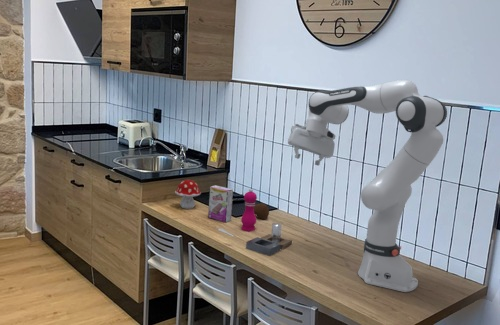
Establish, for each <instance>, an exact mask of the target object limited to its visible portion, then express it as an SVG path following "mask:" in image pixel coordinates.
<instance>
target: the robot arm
mask: <svg viewBox="0 0 500 325" xmlns="http://www.w3.org/2000/svg"><path fill="white" fill-rule="evenodd" d="M348 105H349V106H350V105H351V106H355V107H359V108H361V109H364V110H366V111H368V112H370V113H373V114H382V115H383V114H389V113H392V112H395V115H396V116H395V117H396V118H397V120H398V122H399V123H400V124H401V125H402V126H403V128H404V130H405V131H406V132H407V133H410V137H409V138H408V139H407V141H406V143H405V142H404V145H402V148H400V150H399V151H398V152H397V154H396V155H395V157H394V158H393V159H392V161H390V163H389V164H388V165H386V166H385V167H384V168H383V169H382V170H381V171H380V172H379V173H378V174H377V175H376V176H375V177H374V178H373V179H371V181H370V182H369V183H367V184H366V185H365V186H363V188H362V189H361V191H360V198H361V203H362V204H363V205H364V206H365V207H366V208H367V209H369V210H372V211H373V212H372V214H371V215H370V217H369V219H368V221H367V230H366V238H365V239H364V243H363V256H362V261H361V263H360V267H359V270H358V272H357V275H358V276H359V278H361V279H362V280H363V281H364V283H366V284H368V285H372V286H377V287H380V288H386V289H389V290H394V291H399V292H402V293H403V292H404V293H409V292H413V291H415V289H417V288H418V285H419V280H418V279H417V278H416V277H413V276H414V275H413V268H412V265H411V264H410V263H409V262H408V261H407V260H406V259H405V258H404V257H403V256H402V255H401V250H402V246H399V245H398V244H397V237H398V236H397V235H398V231H399V230H398V229H399V224H400V221H401V218H402V215H403V213H404V210H405V207H406V204H407V203H408V201H409V199H410V197H411V196H412V194H413V193H412V192H413V191H412V190H413V189H412V184H413V183H415V182H416V181H417V180H418V179H419V178H420V177H421V176H422V174H423V173H424V172H425V170H426V169H427V168H428V167H429V166H430V165H431V163H432V162H433V161H434V159H435V158H436V156H437V154H438V153H439V151H440V150H441V148H442V146H443V144H444V135H443V134H442V132H441V131H440V130H439V129H437V127H440V126H441V125H443V124H444V123H445V121H446V119H447V118H448V117H447V116H448V109H447V107H446V105H445V103H443V102H442V101H440V100H439V99H436V98H433V97H430V96H428V95H423V96H422V95H420V94H419V89H418V87H417V85H416V83H415V82H413V81H412V80H409V79H401V80H394V81H388V82H384V83H381V84H376V85H375V84H374V85H366V86H365V85H364V86H352V87H351V86H350V87H344V88H339V89H334V90H325V89H319V90H316V91H315V92H313V93H312V94H311V95H310V97H309V99H308V117H307V119H306V122H305V125H300V124H298V123H295V124H292V126H291V129H290V134H289V135H288V136H289V137H288V139H287V144H288V145H289V146H292V147H293V148H294V153H295V155H294V158H295V159H300V158H301V153H299V150H304V151H306V152H309V153H312V154H314V155H316V156H318V158H319V159H317V160H315V163H314V165H315V166H320V165H321V162H322V161H323V160H324V159H330V158H332V157H333V155H334V153H335V145H336V144H335V141H334V140H335V139H336V134H334V133H333V132H332V131H331V130H329V129H328V128H327V127H328V124H332V125H341V124H343V123H344V122H345V121H346V120H347V118H348V116H349V113H350V112H349V106H348Z"/></svg>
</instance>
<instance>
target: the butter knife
mask: <svg viewBox="0 0 500 325" xmlns="http://www.w3.org/2000/svg"><path fill="white" fill-rule="evenodd" d="M217 231H219V232H221V233H224V234H227V235H229V236H231V237H235V235H233V234H232V233H229V232H228V231H226V230H225V229H223V228H218V229H217Z"/></svg>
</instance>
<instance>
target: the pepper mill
mask: <svg viewBox="0 0 500 325" xmlns="http://www.w3.org/2000/svg"><path fill="white" fill-rule="evenodd" d="M253 191H254V190H253V189H252V188H250V189H248V191H247V192H245V194H244V196H243V199H244V205H245V210H244V212H243V214H242V216H241V220H240V221H241V223H242V224H241V230H242V231H244V232H254V231H255V230H256V225H255V224H256V223H257V216H256V215H255V213H254V206H255V205H256V201H257V199H258V196H257V194H256V193H255V192H253Z"/></svg>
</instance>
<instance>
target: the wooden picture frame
mask: <svg viewBox="0 0 500 325" xmlns="http://www.w3.org/2000/svg"><path fill="white" fill-rule="evenodd" d="M271 236H272V233H271V234H270V233H269V234H267V235H264V236H261V237H260V238H262V239H265V240H269V241H271ZM272 242H273V241H272ZM276 243H277V242H276ZM279 244H281V246H280V251H281V250H284V249H286V248H288V247H290V246H292V245H293V240H291V239H288V238H284V237H281V236H280V242H279Z"/></svg>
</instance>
